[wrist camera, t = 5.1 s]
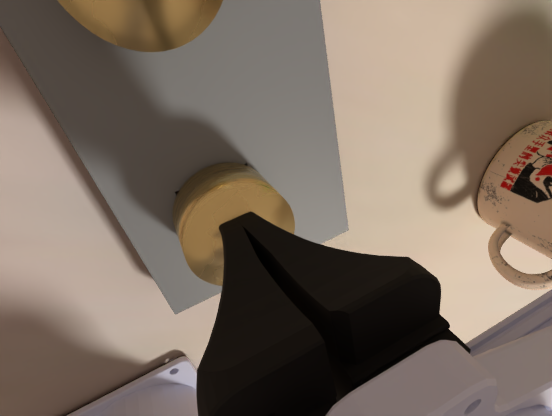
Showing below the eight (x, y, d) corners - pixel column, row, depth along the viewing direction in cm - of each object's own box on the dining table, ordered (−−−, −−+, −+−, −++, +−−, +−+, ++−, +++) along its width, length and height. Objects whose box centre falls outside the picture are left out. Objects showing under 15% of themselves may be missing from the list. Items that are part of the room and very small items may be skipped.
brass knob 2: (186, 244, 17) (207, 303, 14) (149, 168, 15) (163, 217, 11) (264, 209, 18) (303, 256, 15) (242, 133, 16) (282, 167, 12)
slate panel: (168, 288, 18) (175, 314, 17) (-328, -562, 6) (-485, -772, 4) (329, 213, 21) (348, 230, 19) (212, -518, 8) (238, -647, 7)
